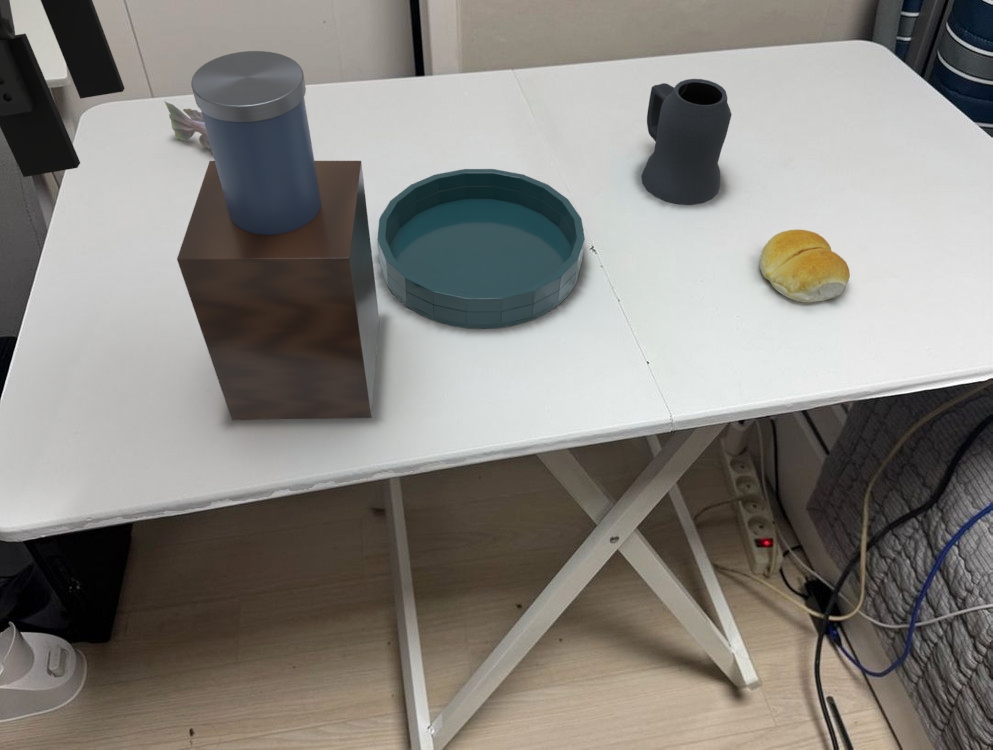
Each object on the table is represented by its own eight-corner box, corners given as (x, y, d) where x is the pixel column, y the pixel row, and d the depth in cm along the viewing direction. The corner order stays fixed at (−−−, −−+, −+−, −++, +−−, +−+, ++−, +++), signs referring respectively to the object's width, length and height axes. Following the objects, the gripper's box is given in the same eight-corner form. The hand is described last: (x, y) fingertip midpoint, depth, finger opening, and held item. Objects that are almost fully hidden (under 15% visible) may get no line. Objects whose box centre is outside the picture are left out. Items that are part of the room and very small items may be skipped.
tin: (217, 237, 60) (180, 106, 52) (234, 178, 64) (202, 50, 57) (318, 236, 60) (296, 106, 52) (328, 178, 65) (309, 50, 57)
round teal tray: (375, 330, 79) (371, 299, 76) (386, 199, 93) (383, 168, 90) (590, 328, 80) (595, 297, 77) (569, 198, 94) (573, 168, 91)
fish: (183, 132, 100) (172, 95, 97) (277, 165, 96) (269, 127, 93) (167, 143, 99) (155, 105, 95) (262, 177, 95) (254, 139, 91)
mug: (735, 193, 95) (761, 104, 87) (668, 212, 92) (688, 122, 84) (678, 139, 102) (696, 52, 94) (614, 155, 99) (627, 67, 91)
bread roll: (810, 241, 90) (821, 211, 87) (856, 296, 84) (870, 266, 81) (741, 254, 88) (750, 224, 85) (783, 311, 82) (795, 280, 79)
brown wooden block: (231, 419, 71) (176, 259, 58) (253, 321, 79) (209, 160, 66) (371, 417, 72) (349, 258, 58) (379, 320, 80) (361, 160, 66)
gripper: (-152, -418, 26) (105, 200, 39) (43, -327, 46) (171, 61, 59) (-406, -391, 26) (-61, 229, 38) (-96, -311, 46) (63, 78, 58)
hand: (80, 128), depth 49 cm, fingers open, 13 cm apart
